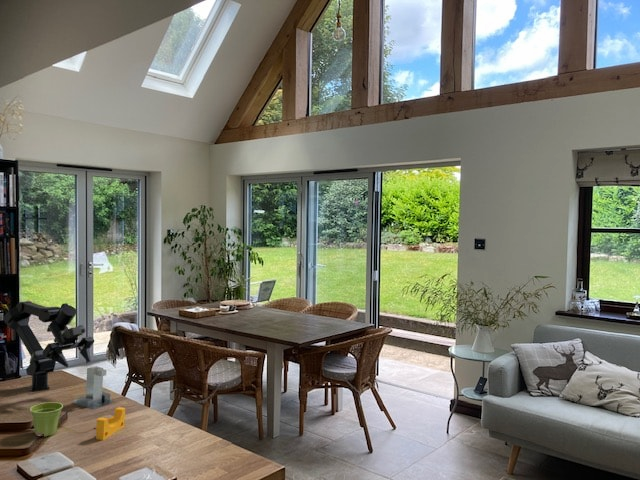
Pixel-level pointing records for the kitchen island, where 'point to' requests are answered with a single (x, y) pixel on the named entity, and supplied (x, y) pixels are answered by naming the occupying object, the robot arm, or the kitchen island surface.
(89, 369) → the grey upright block
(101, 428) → the pipe clamp
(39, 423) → the plant pot
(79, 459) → the kitchen island surface
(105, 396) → the vise
